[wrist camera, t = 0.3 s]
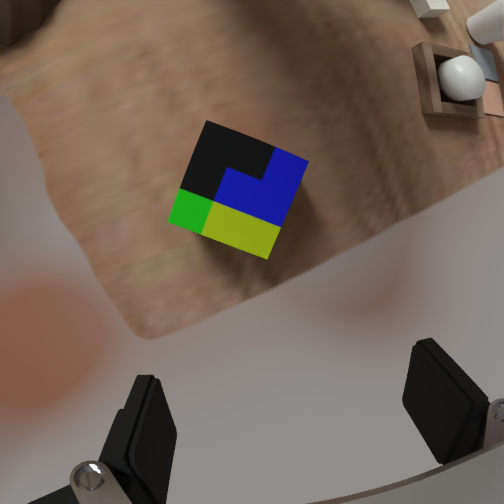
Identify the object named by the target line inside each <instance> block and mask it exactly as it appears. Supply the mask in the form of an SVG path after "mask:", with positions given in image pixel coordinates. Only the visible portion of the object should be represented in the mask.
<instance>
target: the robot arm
mask: <svg viewBox="0 0 504 504" xmlns="http://www.w3.org/2000/svg"><path fill="white" fill-rule="evenodd" d="M402 402H403V405H404V407H405V409H406V411H407V412H408V414H409V415H410V417H411V419H412V420H413V422H414V424H415V425H416V427H417V428H418V430H419V432H420V434H421V435H422V437H423V438H424V440H425V442H426V444H427V445H428V447H429V449H430V450H431V452H432V454H433V455H434V457H435V459H436V461H437V462H438V463H439V464H443V466H440V467H438V468H435V469H433V470H430V471H428V472H425V473H422V474H419V475H417V476H414V477H411V478H408V479H405V480H402V481H399V482H396V483H393V484H389V485H386V486H383V487H379V488H376V489H372V490H368V491H364V492H361V493H357V494H352V495H348V496H344V497H340V498H335V499H330V500H325V501H320V502H314V503H308V504H504V398H501V399H497V400H495V401H493V402H492V403H490V402H489V401H488V397H487V396H486V395H485V393H484V392H483V391H482V390H481V389H480V388H479V387H478V386H477V385H476V384H475V382H473V380H472V379H471V378H470V377H469V376H468V375H467V374H466V373H465V372H464V371H463V370H462V369H461V368H460V366H458V364H457V363H456V362H455V361H454V360H453V359H452V358H451V357H450V356H449V355H448V354H447V353H446V352H445V351H444V350H443V349H442V348H441V347H440V346H439V345H438V344H437V343H436V342H435V341H434V340H433V339H432V338H427V339H423V340H419V341H417V342H416V345H414V346H413V348H412V352H411V358H410V363H409V369H408V374H407V379H406V383H405V388H404V393H403V398H402ZM176 439H177V431H176V427H175V424H174V421H173V419H172V416H171V413H170V410H169V407H168V404H167V401H166V398H165V395H164V392H163V388H162V386H161V382H160V380H159V379H155V377H154V376H153V375H137V377H136V379H135V382H134V384H133V386H132V389H131V391H130V394H129V396H128V399H127V401H126V404H125V407H124V409H120V410H119V411H118V412H117V414H116V417H115V419H114V421H113V424H112V426H111V429H110V431H109V434H108V437H107V439H106V442H105V444H104V447H103V449H102V452H101V455H100V457H99V460H98V461H86V462H82V463H80V464H79V465H77V466H76V467H75V468H74V469H73V470H72V472H71V474H70V479H69V480H70V485H67V486H65V487H63V488H61V489H59V490H57V491H55V492H52V493H50V494H48V495H46V496H44V497H41V498H39V499H36V500H34V501H32V502H30V503H28V504H166V498H167V492H168V486H169V480H170V474H171V468H172V462H173V456H174V450H175V445H176Z"/></svg>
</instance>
